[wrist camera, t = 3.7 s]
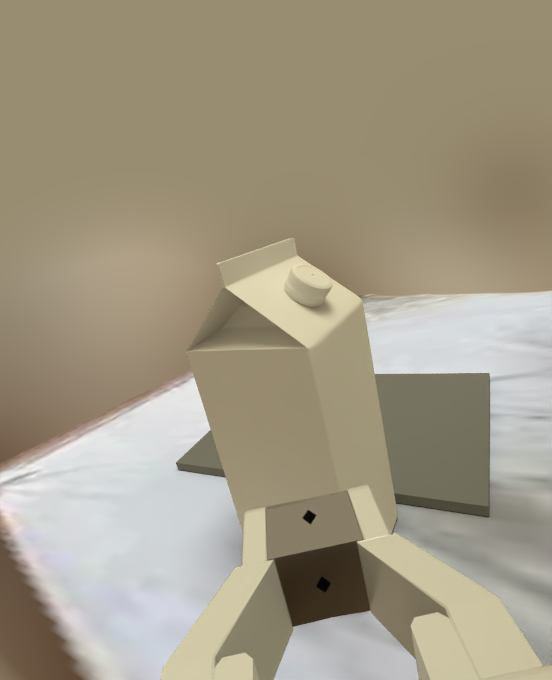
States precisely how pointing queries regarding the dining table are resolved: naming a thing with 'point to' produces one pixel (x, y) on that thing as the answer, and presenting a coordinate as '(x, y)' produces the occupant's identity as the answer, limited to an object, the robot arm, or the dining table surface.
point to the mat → (419, 440)
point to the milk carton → (290, 384)
